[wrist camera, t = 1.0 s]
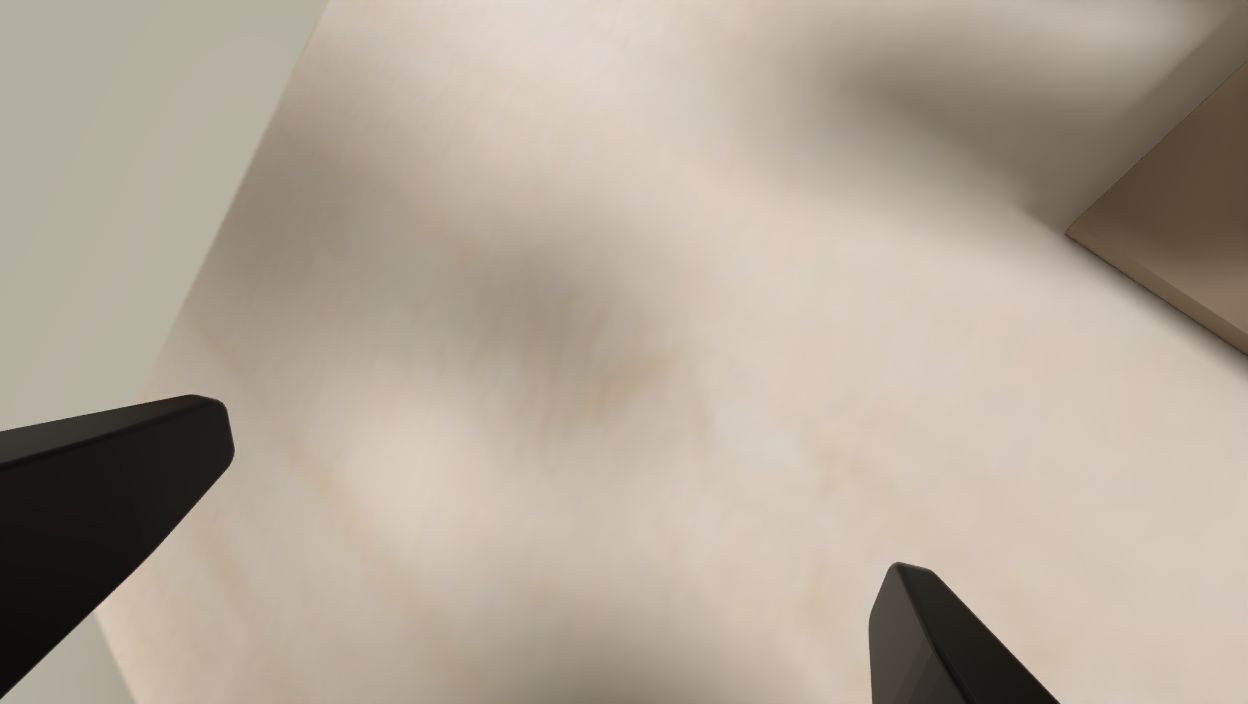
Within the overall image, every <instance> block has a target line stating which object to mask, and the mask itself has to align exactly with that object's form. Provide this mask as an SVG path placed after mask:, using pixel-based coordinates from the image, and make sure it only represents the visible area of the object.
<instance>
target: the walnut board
mask: <svg viewBox="0 0 1248 704" xmlns="http://www.w3.org/2000/svg"><path fill="white" fill-rule="evenodd" d="M1065 234H1066V235H1067V236H1069V237H1070V238H1072V239H1073V240H1075V241H1076V242H1078V243H1079V244H1081V245H1082V246H1084V247H1085V248H1087V249H1088V250H1090V251H1091V252H1093V253H1094V254H1096V255H1097V256H1099V257H1100V258H1102V259H1103V260H1105V261H1106V262H1108V263H1109V264H1111V265H1112V266H1114V267H1115V268H1117V269H1118V270H1120V271H1121V272H1123V273H1124V274H1126V275H1127V276H1129V277H1130V278H1132V279H1133V280H1135V281H1136V282H1138V283H1139V284H1141V285H1142V286H1144V287H1145V288H1147V289H1148V290H1150V291H1151V292H1153V293H1154V294H1156V295H1157V296H1159V297H1160V298H1162V299H1163V300H1165V301H1166V302H1168V303H1169V304H1171V305H1172V306H1174V307H1175V308H1177V309H1178V310H1180V311H1181V312H1183V313H1184V314H1186V315H1187V316H1189V317H1190V318H1192V319H1193V320H1195V321H1196V322H1198V323H1199V324H1201V325H1202V326H1204V327H1205V328H1207V329H1208V330H1210V331H1211V332H1213V333H1214V334H1216V335H1217V336H1219V337H1220V338H1222V339H1223V340H1225V341H1226V342H1228V343H1229V344H1231V345H1232V346H1234V347H1235V348H1237V349H1238V350H1240V351H1241V352H1243V353H1244V354H1246V355H1247V356H1248V61H1246V62H1245V63H1244V64H1243V65H1242V66H1241V67H1240V68H1239V69H1238V70H1237V71H1236V72H1235V73H1234V74H1233V75H1231V76H1230V77H1229V78H1228V79H1227V80H1226V81H1225V82H1224V83H1223V84H1222V85H1221V86H1220V87H1219V88H1218V89H1216V90H1215V91H1214V92H1213V93H1212V94H1211V95H1210V96H1209V97H1208V98H1207V99H1206V100H1205V101H1204V102H1203V103H1201V104H1200V105H1199V106H1198V107H1197V108H1196V109H1195V110H1194V111H1193V112H1192V113H1191V114H1190V115H1189V116H1187V117H1186V118H1185V119H1184V120H1183V121H1182V122H1181V123H1180V124H1179V125H1178V126H1177V127H1176V128H1175V129H1174V130H1172V131H1171V132H1170V133H1169V134H1168V135H1167V136H1166V137H1165V138H1164V139H1163V140H1162V141H1161V142H1160V143H1159V144H1157V145H1156V146H1155V147H1154V148H1153V149H1152V150H1151V151H1150V152H1149V153H1148V154H1147V155H1146V156H1145V157H1144V158H1142V159H1141V160H1140V161H1139V162H1138V163H1137V164H1136V165H1135V166H1134V167H1133V168H1132V169H1131V170H1130V171H1129V172H1127V173H1126V174H1125V175H1124V176H1123V177H1122V178H1121V179H1120V180H1119V181H1118V182H1117V183H1116V184H1115V185H1114V186H1112V187H1111V188H1110V189H1109V190H1108V191H1107V192H1106V193H1105V194H1104V195H1103V196H1102V197H1101V198H1100V199H1098V200H1097V201H1096V202H1095V203H1094V204H1093V205H1092V206H1091V207H1090V208H1089V209H1088V210H1087V211H1086V212H1085V213H1083V214H1082V215H1081V216H1080V217H1079V218H1078V219H1077V220H1076V221H1075V222H1074V223H1073V224H1072V226H1071V227H1070V228H1069V229H1068V230H1067V232H1066V233H1065Z"/></svg>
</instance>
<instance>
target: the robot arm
mask: <svg viewBox="0 0 1248 704" xmlns="http://www.w3.org/2000/svg"><path fill="white" fill-rule="evenodd" d="M234 452H235V448H234V443H233V437H232V432H231V427H230V422H229V417H228V412H227V409H226V407H225V405H224V404H223V403H222V402H220V401H219V400H217V399H213V398H208V397H204V396H200V395H184V396H179V397H174V398H169V399H163V400H158V401H153V402H148V403H143V404H138V405H133V406H128V407H123V408H118V409H112V410H107V411H102V412H97V413H92V414H87V415H82V416H77V417H72V418H66V419H61V420H56V421H51V422H46V423H41V424H37V425H31V426H26V427H21V428H15V429H10V430H6V431H1V432H0V699H2V698H3V697H4V696H5V695H6V694H7V693H8V692H9V691H10V690H11V689H12V688H13V687H14V686H15V685H16V684H17V683H18V682H19V681H20V680H21V679H23V678H24V677H25V676H26V675H27V674H28V673H29V672H30V671H31V670H32V669H33V668H34V667H35V666H36V665H37V664H38V663H39V662H40V661H41V660H42V659H43V658H44V657H45V656H46V655H48V653H49V652H51V651H52V650H53V649H54V648H55V647H56V646H57V645H58V644H59V643H60V642H61V641H62V640H63V639H64V638H65V637H66V636H67V635H68V634H69V633H70V632H71V631H72V630H73V629H75V628H76V627H77V626H78V625H79V624H80V623H81V622H82V621H83V620H84V619H85V618H86V617H87V616H88V615H89V614H90V613H91V612H92V611H93V610H94V609H95V608H96V607H97V606H99V605H100V604H101V603H102V602H103V601H104V600H105V599H106V598H107V597H108V596H109V595H110V594H111V593H112V592H113V591H114V590H115V589H116V588H117V587H118V586H119V585H120V584H121V583H122V582H124V581H125V580H126V579H127V578H128V577H129V576H130V575H131V574H132V573H133V572H134V571H135V570H136V569H137V568H138V567H139V566H140V565H141V564H142V563H143V562H144V561H145V560H146V559H147V558H148V557H149V556H150V555H151V554H152V553H153V552H154V550H155V549H156V548H157V547H158V546H159V545H160V544H161V543H162V542H163V541H164V540H165V538H166V537H167V536H168V535H169V534H170V533H171V532H172V531H173V529H174V528H175V527H176V526H177V525H178V524H179V523H180V522H181V520H182V519H183V518H184V517H185V516H186V515H187V514H188V513H189V511H190V510H191V509H192V508H193V507H194V506H195V505H196V503H197V502H198V501H199V500H200V499H201V498H202V497H203V496H204V494H205V493H206V492H207V491H208V490H209V489H210V488H211V487H212V485H213V484H214V483H215V482H216V481H217V480H218V479H219V478H220V476H221V475H222V474H223V473H224V472H225V471H226V470H227V468H228V467H229V466H230V464H231V462H232V460H233V457H234ZM869 650H870V669H871V688H872V704H1060V703H1059V702H1058V701H1057V700H1056V699H1055V698H1054V697H1053V695H1052V694H1051V693H1050V692H1049V691H1048V690H1047V689H1046V688H1045V687H1044V686H1043V685H1042V684H1041V683H1040V682H1039V681H1038V680H1037V679H1036V678H1035V677H1034V676H1033V675H1032V674H1031V673H1030V672H1029V670H1028V669H1027V668H1026V667H1025V666H1024V665H1023V664H1022V663H1021V662H1020V661H1019V660H1018V659H1017V658H1016V657H1015V656H1014V655H1013V654H1012V653H1011V652H1010V651H1009V650H1008V649H1007V648H1006V647H1005V645H1004V644H1003V643H1002V642H1001V641H1000V640H999V639H998V638H997V637H996V636H995V635H994V634H993V633H992V632H991V631H990V630H989V629H988V628H987V627H986V626H985V625H984V624H983V623H982V621H981V620H980V619H979V618H978V617H977V616H976V615H975V614H974V613H973V612H972V611H971V610H970V609H969V608H968V607H967V606H966V605H965V604H964V603H963V602H962V601H961V600H960V599H959V598H958V596H957V595H956V594H955V593H954V592H953V591H952V590H951V589H950V588H949V587H948V586H947V585H946V584H945V583H944V582H943V581H942V580H941V579H940V578H939V577H938V576H937V575H936V574H935V573H934V572H933V571H931V570H929V569H927V568H923V567H919V566H915V565H910V564H906V563H902V562H896V563H894V564H892V565H891V566H890V568H889V569H888V571H887V573H886V576H885V578H884V581H883V583H882V586H881V588H880V591H879V593H878V595H877V598H876V600H875V603H874V605H873V608H872V610H871V614H870V619H869Z"/></svg>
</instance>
